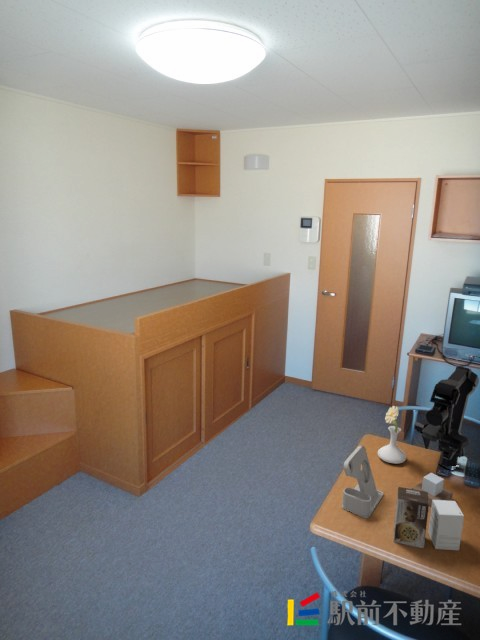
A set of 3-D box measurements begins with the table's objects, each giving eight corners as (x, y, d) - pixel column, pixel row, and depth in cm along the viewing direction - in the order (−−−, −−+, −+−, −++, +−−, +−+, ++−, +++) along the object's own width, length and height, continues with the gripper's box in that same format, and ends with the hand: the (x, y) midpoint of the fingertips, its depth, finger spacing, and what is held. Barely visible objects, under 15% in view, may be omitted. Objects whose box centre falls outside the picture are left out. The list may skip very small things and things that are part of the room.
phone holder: (367, 520, 151) (371, 472, 147) (339, 508, 157) (342, 462, 153) (384, 494, 165) (388, 450, 161) (357, 484, 171) (361, 441, 166)
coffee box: (423, 535, 145) (428, 491, 140) (424, 549, 139) (430, 504, 135) (393, 528, 147) (398, 485, 143) (392, 542, 141) (398, 497, 137)
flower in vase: (378, 449, 195) (383, 396, 189) (406, 454, 191) (412, 400, 185) (375, 464, 183) (380, 408, 177) (405, 471, 179) (411, 413, 173)
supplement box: (450, 534, 145) (456, 500, 142) (459, 551, 138) (465, 516, 135) (427, 532, 146) (431, 498, 143) (434, 549, 139) (439, 514, 136)
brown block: (426, 485, 170) (427, 478, 169) (451, 499, 162) (452, 492, 161) (410, 495, 164) (411, 488, 164) (435, 510, 156) (436, 502, 156)
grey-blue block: (429, 484, 166) (431, 472, 165) (442, 491, 162) (444, 479, 161) (421, 489, 163) (423, 477, 162) (434, 496, 159) (436, 484, 158)
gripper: (407, 411, 167) (403, 449, 170) (455, 432, 152) (449, 473, 156) (425, 404, 173) (420, 441, 177) (472, 423, 158) (466, 463, 162)
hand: (437, 454), depth 168 cm, fingers open, 9 cm apart
